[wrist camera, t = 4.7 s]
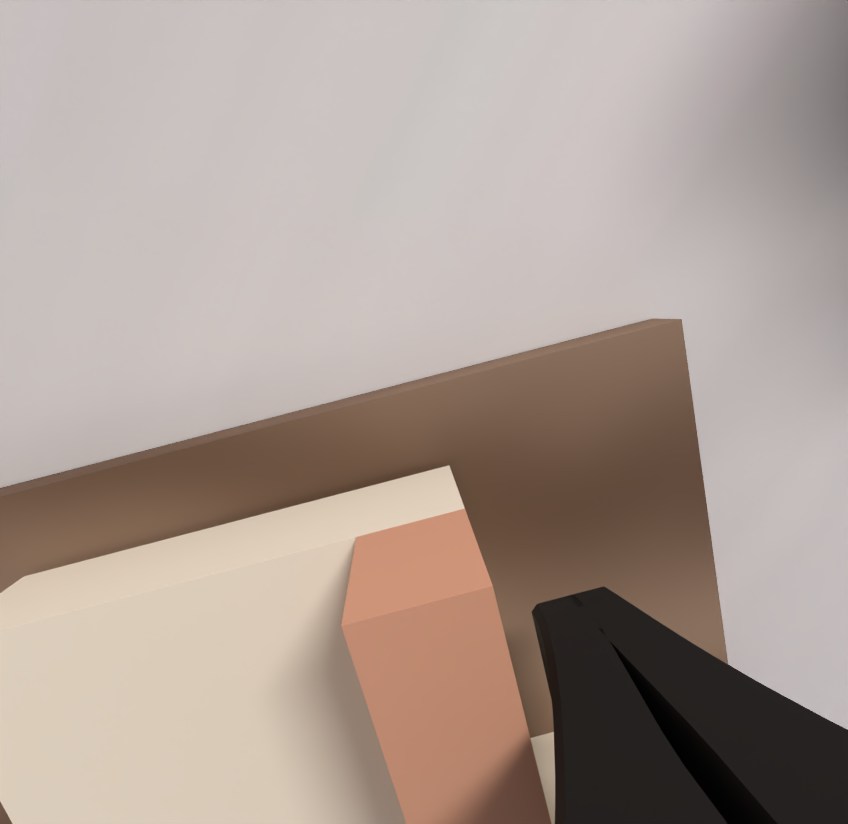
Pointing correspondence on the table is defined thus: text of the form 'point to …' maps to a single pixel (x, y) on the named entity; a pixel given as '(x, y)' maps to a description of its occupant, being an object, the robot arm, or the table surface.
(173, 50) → the table surface
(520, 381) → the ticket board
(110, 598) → the cream block with bar
